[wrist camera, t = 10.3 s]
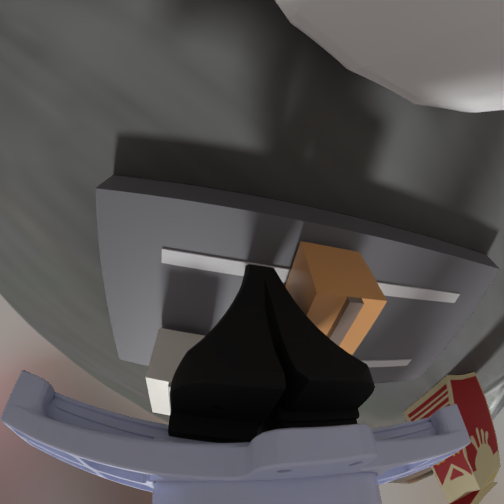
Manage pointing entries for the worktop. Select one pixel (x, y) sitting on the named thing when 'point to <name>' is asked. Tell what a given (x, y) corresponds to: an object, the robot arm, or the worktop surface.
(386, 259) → the mixing panel
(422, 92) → the cup
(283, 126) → the worktop surface
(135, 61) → the worktop surface
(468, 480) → the milk carton
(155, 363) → the block
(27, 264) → the worktop surface
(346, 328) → the fader orange
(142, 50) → the worktop surface
